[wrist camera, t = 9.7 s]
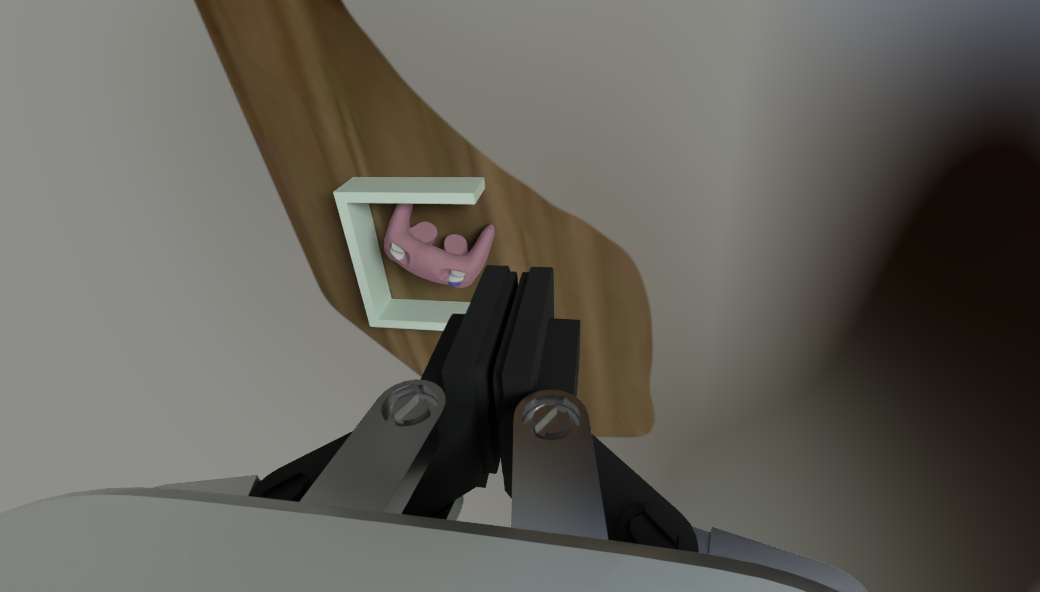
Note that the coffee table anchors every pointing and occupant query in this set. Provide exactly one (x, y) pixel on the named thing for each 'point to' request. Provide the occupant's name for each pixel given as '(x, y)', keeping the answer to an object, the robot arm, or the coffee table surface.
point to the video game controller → (434, 250)
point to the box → (367, 252)
